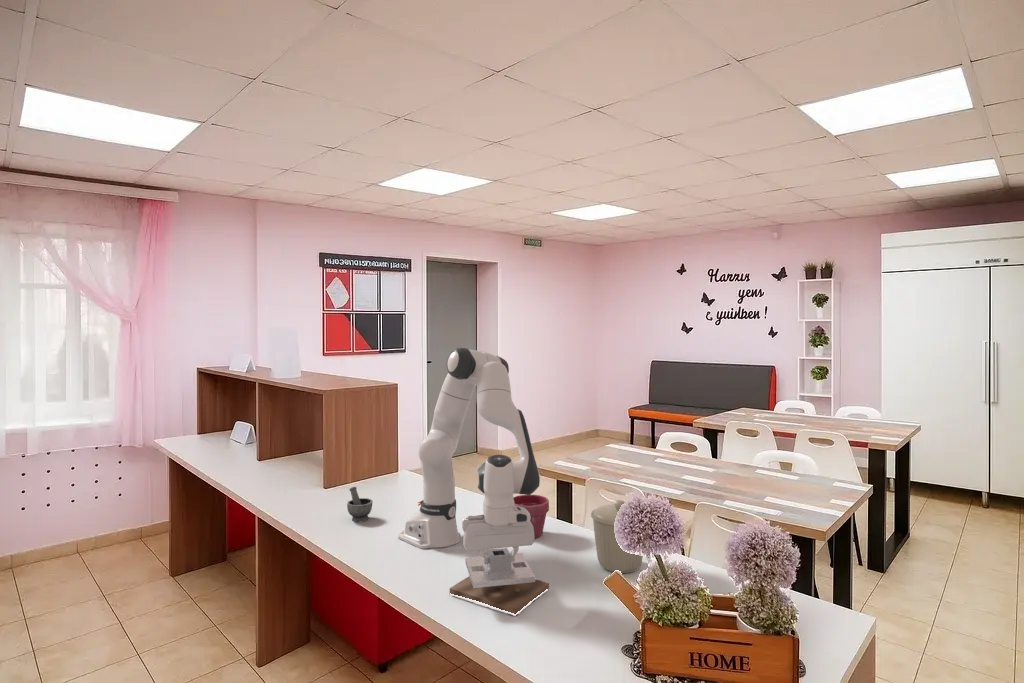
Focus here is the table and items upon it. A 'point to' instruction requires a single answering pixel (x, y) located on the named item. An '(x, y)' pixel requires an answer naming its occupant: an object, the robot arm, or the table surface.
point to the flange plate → (499, 569)
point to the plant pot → (534, 510)
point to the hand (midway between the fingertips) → (498, 562)
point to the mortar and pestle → (359, 506)
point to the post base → (501, 594)
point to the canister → (611, 541)
